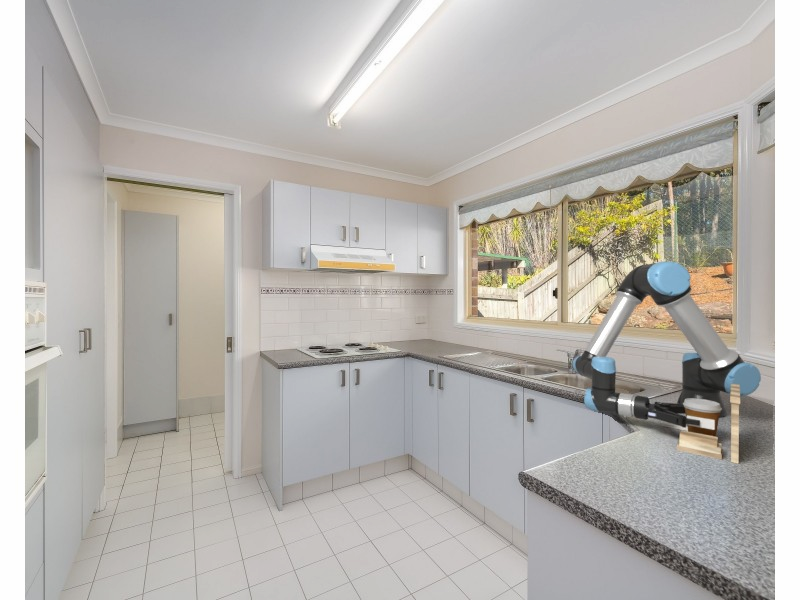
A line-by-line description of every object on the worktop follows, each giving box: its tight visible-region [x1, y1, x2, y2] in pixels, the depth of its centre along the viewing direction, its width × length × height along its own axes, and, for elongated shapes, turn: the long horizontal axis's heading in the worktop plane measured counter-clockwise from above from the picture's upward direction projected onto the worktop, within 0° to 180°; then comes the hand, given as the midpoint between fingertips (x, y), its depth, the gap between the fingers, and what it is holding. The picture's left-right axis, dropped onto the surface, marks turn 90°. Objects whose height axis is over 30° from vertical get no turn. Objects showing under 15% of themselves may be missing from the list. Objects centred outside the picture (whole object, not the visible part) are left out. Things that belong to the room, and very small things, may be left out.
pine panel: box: [729, 383, 741, 465], centre depth 112 cm, size 25×2×17 cm, turn 139°
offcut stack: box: [676, 430, 723, 460], centre depth 110 cm, size 6×10×5 cm, turn 48°
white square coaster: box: [658, 420, 688, 431], centre depth 134 cm, size 12×12×1 cm
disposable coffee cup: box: [683, 398, 722, 437], centre depth 119 cm, size 10×10×12 cm
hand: (715, 419), depth 117 cm, fingers open, 13 cm apart
